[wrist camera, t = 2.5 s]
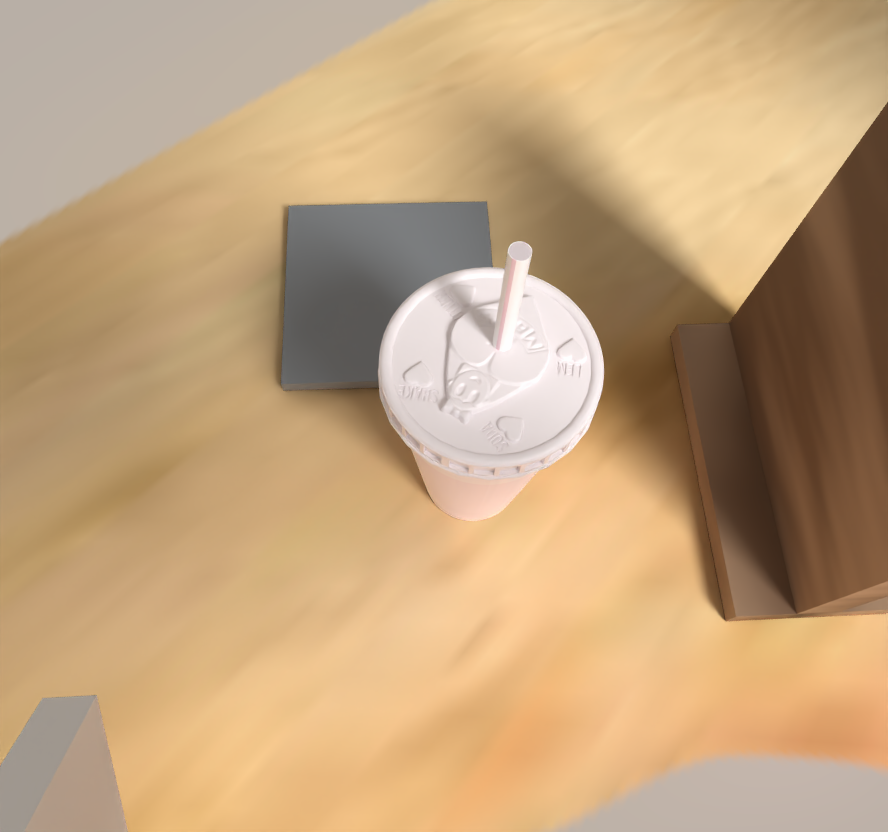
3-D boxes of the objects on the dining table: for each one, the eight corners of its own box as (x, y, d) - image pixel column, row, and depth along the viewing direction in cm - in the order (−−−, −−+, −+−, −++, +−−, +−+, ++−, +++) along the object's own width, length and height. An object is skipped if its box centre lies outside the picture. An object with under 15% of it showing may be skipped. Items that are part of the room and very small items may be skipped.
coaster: (485, 210, 35) (486, 201, 34) (501, 383, 31) (502, 376, 31) (290, 214, 35) (288, 205, 34) (283, 390, 31) (281, 384, 30)
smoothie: (580, 451, 30) (695, 233, 17) (501, 588, 28) (568, 452, 15) (444, 375, 31) (458, 119, 19) (358, 500, 29) (307, 306, 16)
